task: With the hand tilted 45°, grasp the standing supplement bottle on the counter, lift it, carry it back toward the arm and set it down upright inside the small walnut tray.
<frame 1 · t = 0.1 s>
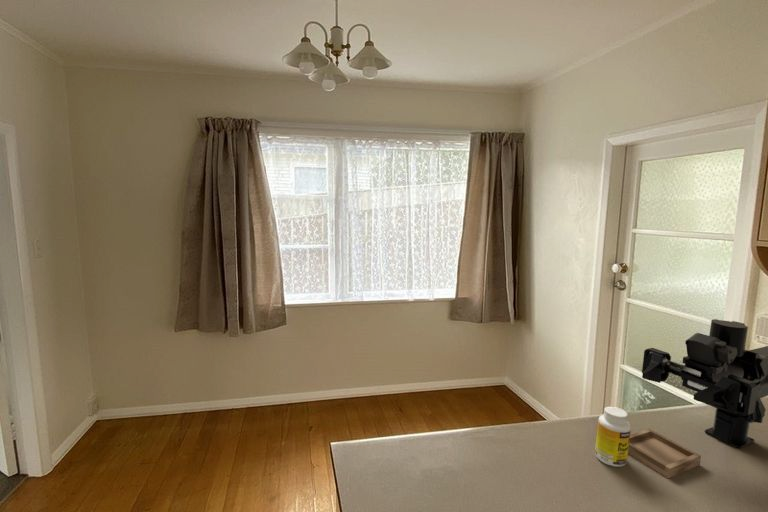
hand: (667, 385, 74), 17 cm above the counter, tool horizontal, fingers open, 9 cm apart
walnut tray: (657, 455, 79), on the counter
supplement bottle: (610, 460, 78), on the counter
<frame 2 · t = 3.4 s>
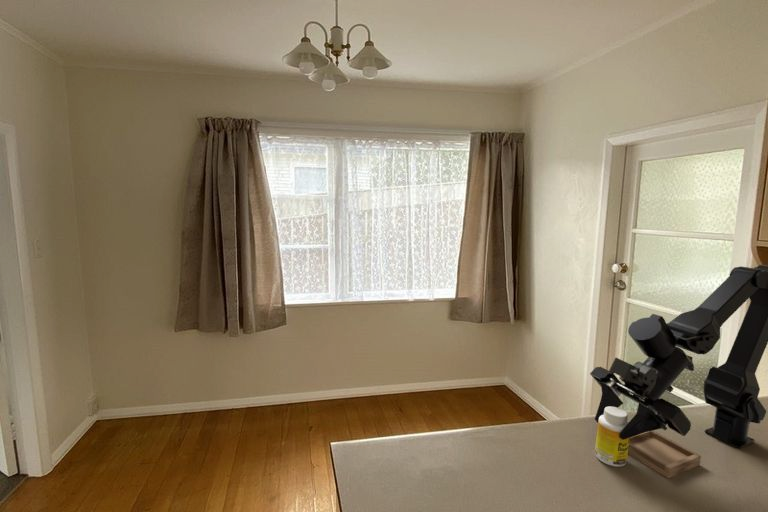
hand: (608, 429, 77), 7 cm above the counter, tool tilted 45°, fingers closed on supplement bottle, 5 cm apart
supplement bottle: (610, 459, 78), on the counter, touching gripper
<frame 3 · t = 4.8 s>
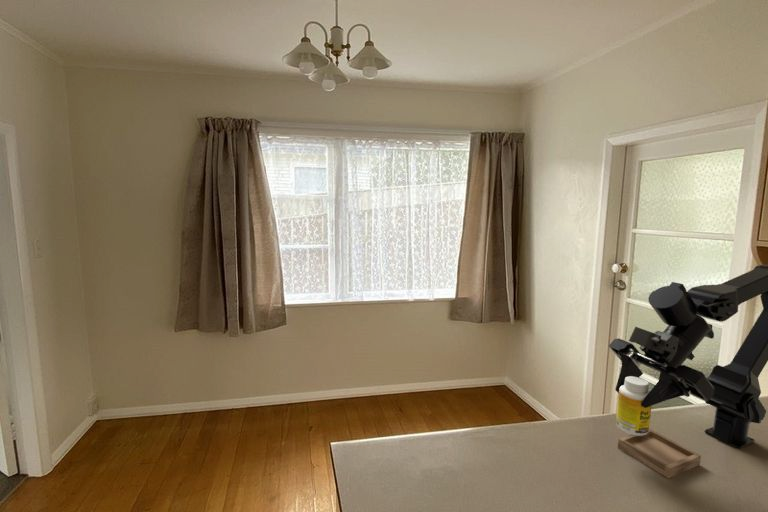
hand: (629, 398, 77), 13 cm above the counter, tool tilted 45°, fingers closed on supplement bottle, 5 cm apart
supplement bottle: (631, 429, 78), point 6 cm above the counter, touching gripper
when the fingers open (9 cm above the counter, at t = 6.5 s): supplement bottle drops 1 cm, resting on walnut tray.
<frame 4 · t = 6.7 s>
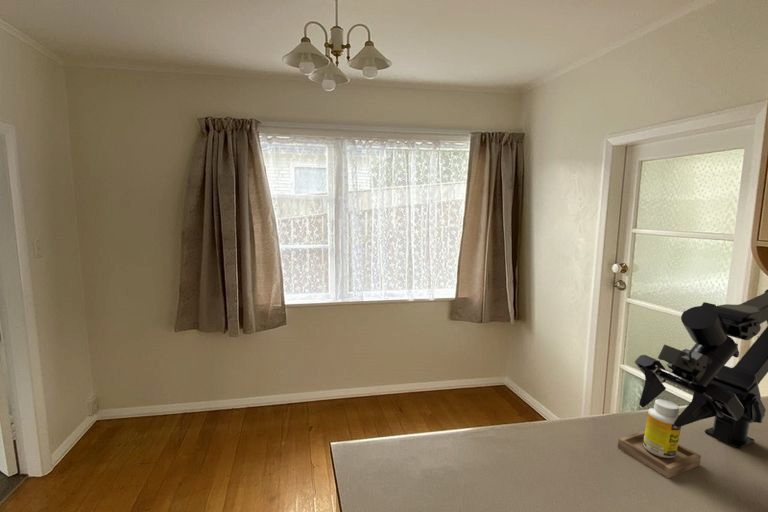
hand: (657, 415, 78), 9 cm above the counter, tool tilted 45°, fingers open, 7 cm apart
supplement bottle: (658, 451, 79), point 1 cm above the counter, touching walnut tray
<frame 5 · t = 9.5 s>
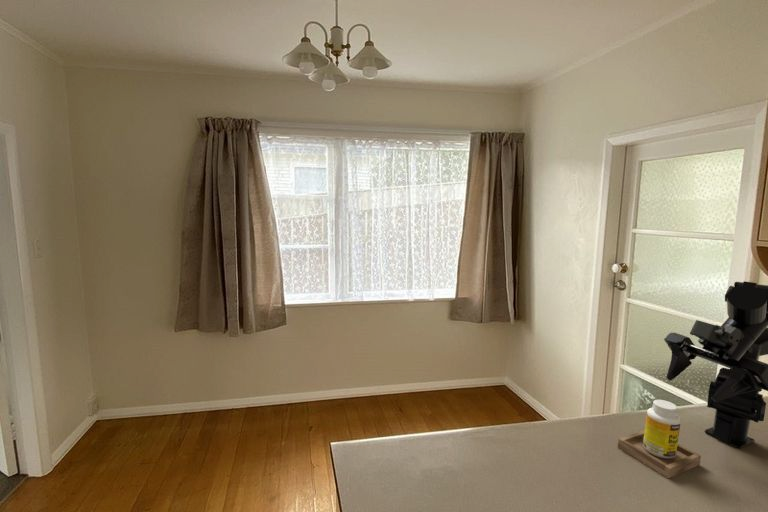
hand: (689, 389, 80), 14 cm above the counter, tool tilted 45°, fingers open, 9 cm apart
nothing on the counter moved.
at the end: supplement bottle inside the target area on the walnut tray (0.2 cm from its centre), point 0.8 cm above the walnut tray's base; supplement bottle tilted 0°; the gripper is holding nothing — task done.
